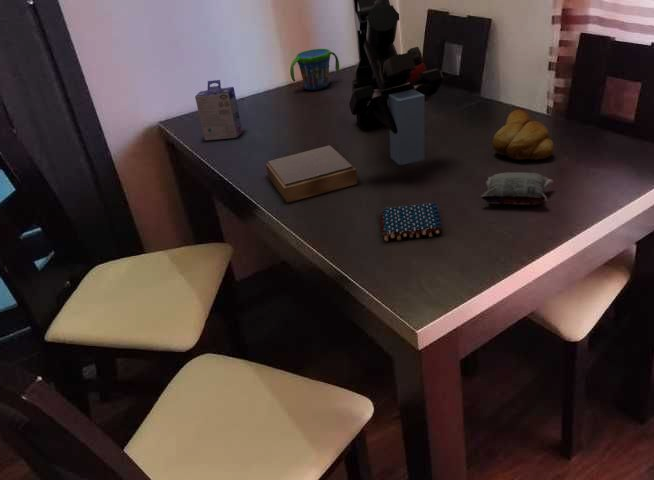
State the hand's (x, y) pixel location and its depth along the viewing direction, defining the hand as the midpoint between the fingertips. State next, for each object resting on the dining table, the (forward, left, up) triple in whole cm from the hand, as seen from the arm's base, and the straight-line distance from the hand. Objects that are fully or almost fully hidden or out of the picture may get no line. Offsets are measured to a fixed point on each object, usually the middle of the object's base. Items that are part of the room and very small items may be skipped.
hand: (409, 129), depth 125 cm
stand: (+19, -12, -11) cm, 25 cm away
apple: (-22, -49, -11) cm, 55 cm away
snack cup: (-5, -81, -11) cm, 82 cm away
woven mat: (+9, +19, -11) cm, 24 cm away
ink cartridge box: (+30, -57, -11) cm, 65 cm away
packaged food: (-12, +20, -11) cm, 26 cm away
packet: (0, -2, -7) cm, 7 cm away
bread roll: (-24, +3, -11) cm, 27 cm away
